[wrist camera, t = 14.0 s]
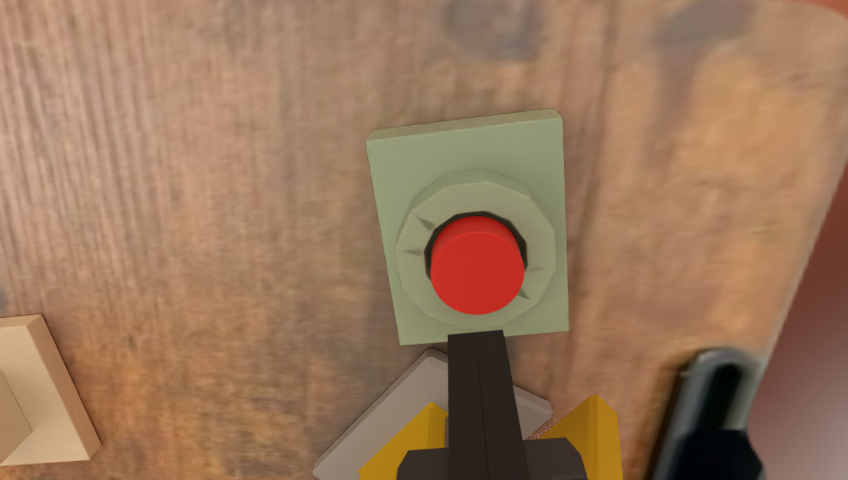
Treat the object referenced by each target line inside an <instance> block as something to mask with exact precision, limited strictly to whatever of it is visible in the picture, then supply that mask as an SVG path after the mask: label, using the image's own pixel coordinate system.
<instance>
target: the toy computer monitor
mask: <svg viewBox="0 0 848 480" xmlns="http://www.w3.org/2000/svg"><path fill="white" fill-rule="evenodd" d="M513 388H514V394H515V400H516V405H517V411H518V416H519V422H520V428H521V433H522V439H523V440H525V439H526V438H527V437H528V436H530V435H531V434H532V433H533V432H534V431H536V430H537V429H538V428H539V427H540V426H542V425H543V424H544V423H545V422H546V421H547V420H549V419H550V418H551V417H552V416H553V411H552V407H551V404H550V402H549V401H547V400H545V399H542V398H540V397H538V396H536V395H534V394H531V393H529V392H527V391H525V390H523V389H521V388H518V387H516V386H514V385H513ZM562 437H566V438H567V439H568V440H569V442H570V443H571V444H572V445H573V446H574V447H575V448H576V450H577V451H578V452H579V453H580V454H581V457H582V460H583V464H584V467H585V470H586V474H587V479H588V480H623V476H622V464H621V453H620V441H619V429H618V418H617V413H616V412H615V411H614V410H613V409H612V408H611V407H610V406H608V405H607V404H606V403H605V402H604V401H603V400H602V399H601V398H600V397H599V396H598V395H593V396H590V397H588V398H587V399H586V400H585V401H583V402H582V403H581V404H580V405H579V406H577V407H576V408H575V409H574V410H573V411H571V412H570V413H569V414H568V415H566V416H565V417H564V418H563V419H562V420H560V421H559V422H558V423H557V424H556V425H554V426H553V427H552V428H551V429H550V430H548V431H547V432H546V433H545V434H544V435H542V436H541V437H540V438H539V439H549V438H562ZM446 447H449V439H448V355H446V354H444V353H442V352H440V351H438V350H435V349H433V348H431V349H427V350H426V351H425V352H424V353H423V354H422V355H421V356H420V357H419V358H418V359H417V360H416V361H415V362H414V363H413V364H412V365H411V366H410V367H409V368H408V369H407V370H406V371H405V372H404V373H403V374H402V375H401V376H400V377H399V378H398V379H397V380H396V381H395V382H394V383H393V384H392V385H391V386H390V387H389V388H388V389H387V390H386V391H385V392H384V393H383V394H382V395H381V396H380V397H379V398H378V399H377V400H376V401H375V402H374V403H373V404H372V405H371V406H370V407H369V408H368V409H367V410H366V411H365V412H364V413H363V414H362V415H361V416H360V417H359V418H358V419H357V420H356V421H355V422H354V423H353V424H352V425H351V426H350V427H349V428H348V429H347V430H346V431H345V432H344V433H343V434H342V435H341V436H340V437H339V438H338V439H337V440H336V441H335V442H334V443H333V444H332V445H331V446H330V447H329V448H328V449H327V450H326V451H325V452H324V453H323V454H322V455H321V456H320V457H319V458H318V459H317V460H316V461H315V465H314V468H313V475H314V476H315V477H316V478H317V479H318V480H396V476H397V468H398V467H399V465H400V463H401V462H402V460H403V458H404V457H405V455H406V453H407V451H408V450H419V449H433V448H446Z"/></svg>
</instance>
